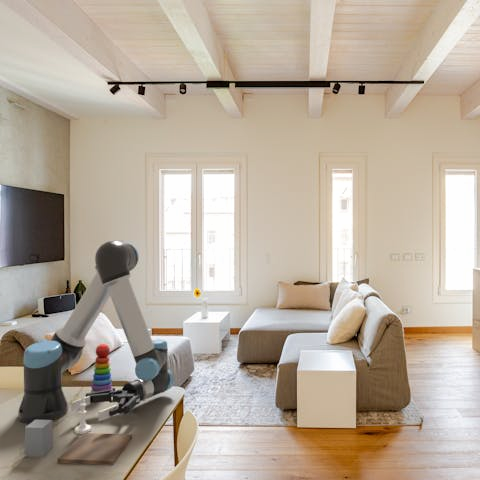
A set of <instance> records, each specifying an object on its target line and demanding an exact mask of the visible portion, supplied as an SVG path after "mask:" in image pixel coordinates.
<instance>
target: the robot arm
mask: <svg viewBox="0 0 480 480" xmlns="http://www.w3.org/2000/svg"><path fill="white" fill-rule="evenodd" d="M94 261H95V268H94V269H95V275H94V276H93V278H92V279H91V281H90V283H89V284H88V286H87V288H86V290H85V291H84V292H83V295H82V296H81V298H80V300H79V301H78V302H77V304H76V305H75V306H74V307H75V308H74V309H73V311H72V312H71V314H70V316H69V318H68V319H67V321H66V323H65V324H64V325H63V327H61V328H57V329H56V331H55V332H54V334H53V335H52V337H51V339H50V340H44V341H39V342H35V343H33V344H30V345H29V346H27V347H26V348H25V350H24V351H23V360H22V363H23V397H22V399H21V402H20V406H19V408H18V411H17V412H18V417H17V419H18V420H19V422H22V423H26V424H30V423H32V422H33V421H34V420H52V421H54V420H56V419H59V418H61V417H63V416H65V415H66V414H67V413H68V409H69V408H68V401H67V399H66V395H65V393H64V390H63V384H62V383H63V376H62V375H63V373H64V372H66V371H67V370H69V369H70V368H71V367H73V366H75V365H76V364H77V363H78V361H79V360H80V359H81V358H82V355H83V349H84V347H85V346H86V343H87V341H86V336H87V335H88V333H89V331H90V330H91V329H92V327H93V325H94V323H95V322H96V320H97V319H98V317H99V316H100V313H101V311H102V310H103V308H104V307H105V305H106V304H107V302H108V300H109V298H110V299H111V301H112V304H113V306H114V309H115V312H116V314H117V317H118V320H119V322H120V324H121V327H122V330H123V333H124V335H125V338H126V341H127V343H128V345H129V348H130V351H131V353H132V356H133V359H134V362H135V364H136V365H135V367H134V368H135V369H134V371H135V372H134V373H135V376H136V377H137V379H135V380H132V381H129V382H126V383H125V384H124V385H123V386H122V389H117V390H116V388H115V387H112V388H111V389H108V390H103V391H97V392H91V391H90V392H87V393H85V396H84V397H83V398H84V400H85V402H84V403H86V407H87V406H88V407H89V406H90V405H91V404H96V403H104V402H109V403H117V404H114V405H111V406H109V407H107V408H104V409H102V410H99V411H98V418H97V419H98V422H101V421H104V420H107V419H108V418H110V417H113V416H116V415H122V414H123V415H128V414H129V413H130V412H131V411H132V410H133V409H134V408H135V407H136V406H137V405H140V404H141V402H144V401H146V400H147V399H149V398H152V397H154V396H157V395H158V394H159V395H160V394H163V393H165V392H166V391H169V390H170V389H171V388H172V387H173V386H174V383H175V377H174V375H173V372H172V371H171V370H170V369H168V356H169V355H168V353H169V352H168V350H169V349H168V341H167V340H166V339H160V338H159V339H158V338H157V339H152V336H151V334H150V332H149V329H148V327H147V324H146V321H145V319H144V315H143V313H142V310H141V307H140V305H139V303H138V300H137V296H136V294H135V291H134V290H133V286H132V284H131V281H130V278H131V273H130V272H131V271H132V270H134V269H135V268H136V267H137V265H138V263H139V252H138V250H137V247H135V246H134V244H132V243H130V242H127V241H124V240H118V241H117V240H116V241H115V240H111V241H106V242H104V243H103V244H101V245H100V246H99V248H97V250H96V252H95V256H94ZM81 399H82V398H79V399H76V400H74V401H71V402H70V411H71V412H75V411H77V410H81V409H80V406H79V405H80V404H81V403H82V401H81Z"/></svg>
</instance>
